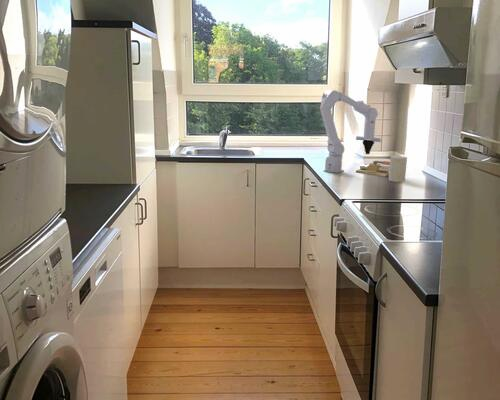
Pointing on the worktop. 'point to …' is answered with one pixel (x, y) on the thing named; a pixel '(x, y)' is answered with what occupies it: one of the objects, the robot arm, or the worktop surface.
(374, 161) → the valve lever
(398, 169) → the cup
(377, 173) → the mount board
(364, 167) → the valve pipe
